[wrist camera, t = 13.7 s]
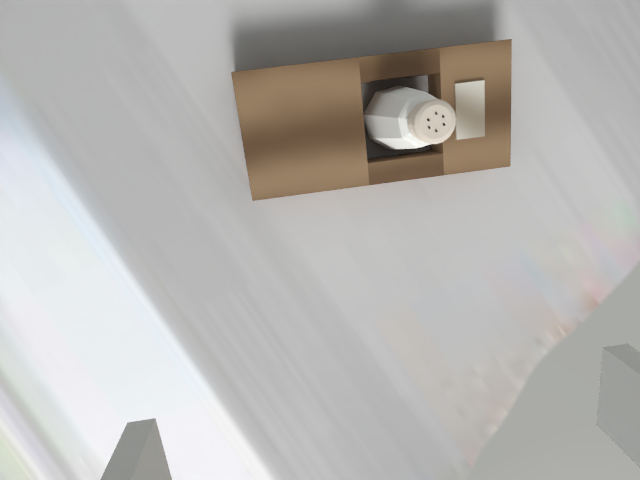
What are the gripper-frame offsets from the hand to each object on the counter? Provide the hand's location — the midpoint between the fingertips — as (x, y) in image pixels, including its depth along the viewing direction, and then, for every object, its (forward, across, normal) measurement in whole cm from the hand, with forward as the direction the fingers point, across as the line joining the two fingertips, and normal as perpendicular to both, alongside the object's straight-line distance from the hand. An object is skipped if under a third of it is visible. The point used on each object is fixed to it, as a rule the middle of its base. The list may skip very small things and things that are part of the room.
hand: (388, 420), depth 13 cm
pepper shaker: (+29, +8, +7) cm, 31 cm away
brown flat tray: (+29, +6, +7) cm, 30 cm away
